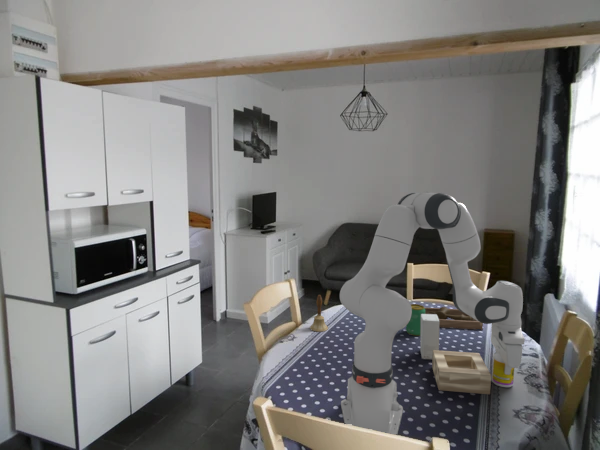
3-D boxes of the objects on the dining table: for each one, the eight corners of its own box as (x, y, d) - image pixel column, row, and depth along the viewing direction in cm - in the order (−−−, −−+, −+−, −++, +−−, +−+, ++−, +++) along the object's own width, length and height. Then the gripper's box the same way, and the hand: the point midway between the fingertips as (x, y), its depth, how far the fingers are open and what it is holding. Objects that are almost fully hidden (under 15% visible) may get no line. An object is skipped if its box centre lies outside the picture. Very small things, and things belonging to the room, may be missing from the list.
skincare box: (438, 360, 159) (440, 321, 156) (420, 359, 160) (422, 320, 158) (436, 351, 167) (437, 313, 164) (419, 349, 168) (420, 312, 166)
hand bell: (331, 327, 192) (331, 293, 190) (322, 333, 185) (322, 298, 183) (315, 323, 196) (315, 291, 194) (306, 329, 189) (306, 295, 187)
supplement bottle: (514, 389, 138) (517, 353, 136) (492, 386, 140) (494, 350, 138) (511, 380, 144) (514, 345, 142) (490, 376, 146) (493, 342, 144)
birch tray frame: (489, 395, 135) (491, 375, 134) (438, 390, 138) (439, 371, 137) (477, 371, 151) (479, 353, 150) (432, 367, 154) (432, 350, 153)
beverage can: (428, 333, 184) (429, 307, 182) (416, 337, 180) (417, 311, 178) (414, 327, 191) (415, 302, 189) (402, 331, 186) (403, 305, 185)
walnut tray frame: (482, 329, 188) (482, 322, 187) (422, 326, 192) (422, 319, 192) (473, 316, 204) (474, 310, 203) (418, 313, 208) (418, 307, 208)
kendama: (469, 330, 188) (425, 320, 199) (473, 324, 196) (431, 315, 207) (470, 318, 188) (426, 308, 198) (474, 312, 196) (432, 303, 206)
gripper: (487, 317, 150) (485, 353, 152) (505, 340, 130) (502, 382, 132) (506, 318, 149) (503, 354, 151) (526, 342, 129) (523, 383, 131)
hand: (503, 367), depth 141 cm, fingers closed on supplement bottle, 7 cm apart
